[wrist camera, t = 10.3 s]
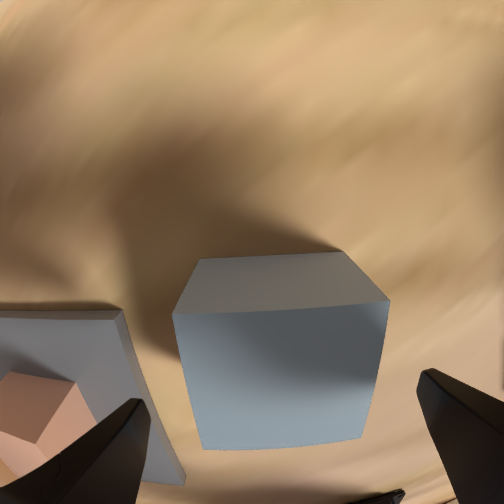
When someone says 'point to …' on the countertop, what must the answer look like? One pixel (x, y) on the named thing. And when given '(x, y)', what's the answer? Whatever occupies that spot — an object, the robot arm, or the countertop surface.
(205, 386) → the slate-grey brick
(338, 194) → the countertop surface
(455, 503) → the medicine bottle
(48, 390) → the terracotta brick
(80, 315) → the base plate
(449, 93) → the countertop surface
